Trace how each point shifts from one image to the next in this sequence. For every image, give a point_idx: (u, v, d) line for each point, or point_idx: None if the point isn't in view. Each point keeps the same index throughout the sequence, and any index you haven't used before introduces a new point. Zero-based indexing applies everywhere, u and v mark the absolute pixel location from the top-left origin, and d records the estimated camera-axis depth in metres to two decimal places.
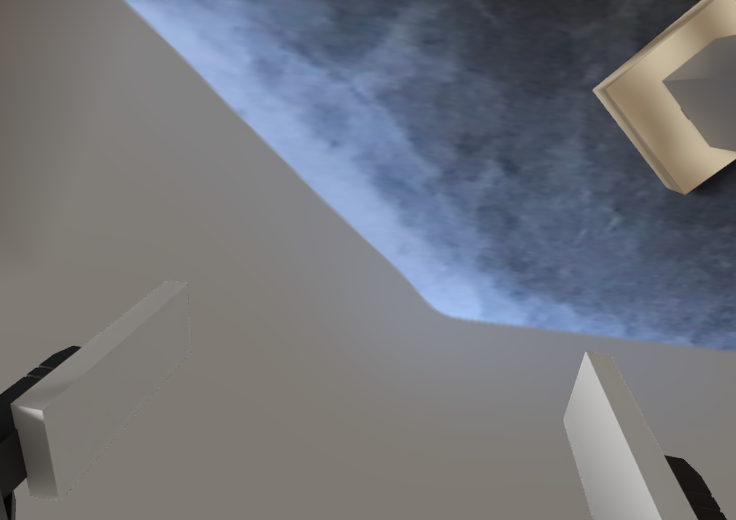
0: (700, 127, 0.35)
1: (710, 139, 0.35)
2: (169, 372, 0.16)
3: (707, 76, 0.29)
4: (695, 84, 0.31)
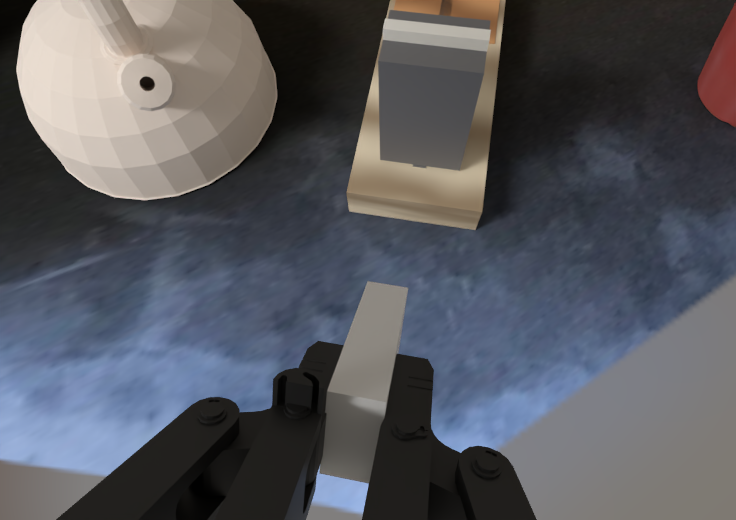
0: (435, 162, 0.37)
1: (450, 162, 0.37)
2: None
3: (379, 107, 0.33)
4: (385, 126, 0.34)
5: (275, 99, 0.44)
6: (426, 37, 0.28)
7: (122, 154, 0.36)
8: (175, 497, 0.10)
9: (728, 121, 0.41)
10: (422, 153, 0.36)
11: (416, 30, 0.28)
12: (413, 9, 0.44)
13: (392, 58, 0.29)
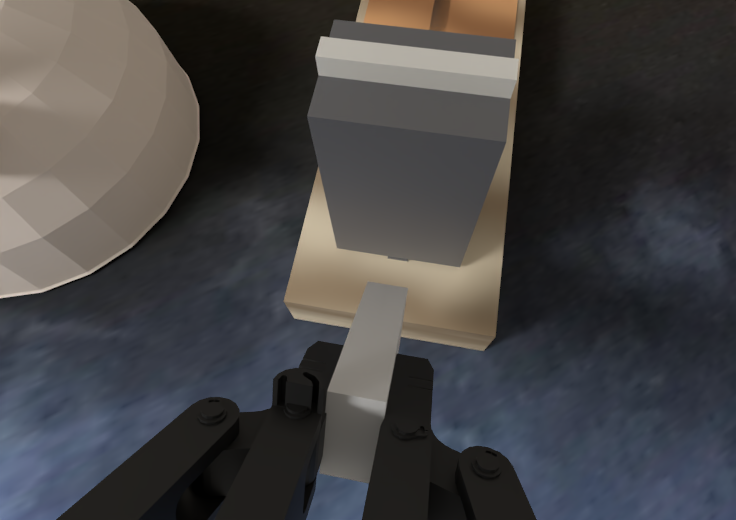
0: (422, 255, 0.23)
1: (445, 258, 0.23)
2: None
3: (323, 184, 0.19)
4: (337, 209, 0.21)
5: (196, 144, 0.31)
6: (396, 72, 0.15)
7: None
8: (175, 497, 0.10)
9: None
10: (400, 244, 0.23)
11: (378, 59, 0.15)
12: (393, 15, 0.31)
13: (334, 110, 0.15)
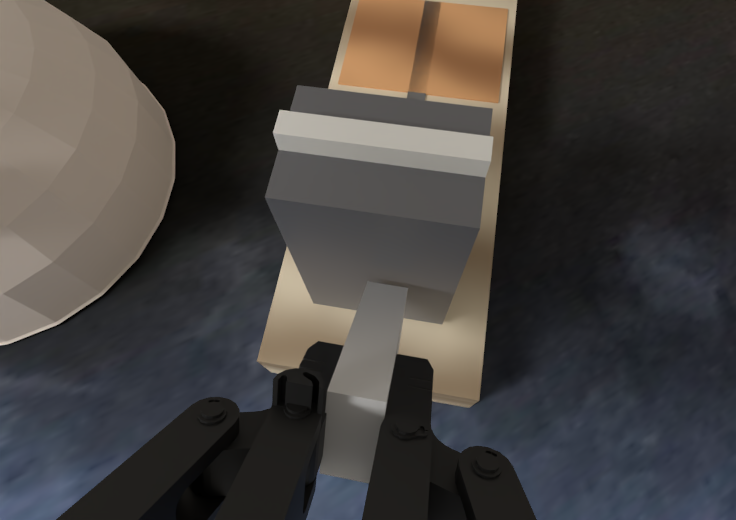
0: None
1: (426, 316, 0.22)
2: None
3: (292, 251, 0.18)
4: (308, 273, 0.19)
5: (171, 183, 0.30)
6: (361, 150, 0.14)
7: None
8: (175, 497, 0.10)
9: None
10: None
11: (341, 137, 0.14)
12: (375, 48, 0.29)
13: (294, 191, 0.14)
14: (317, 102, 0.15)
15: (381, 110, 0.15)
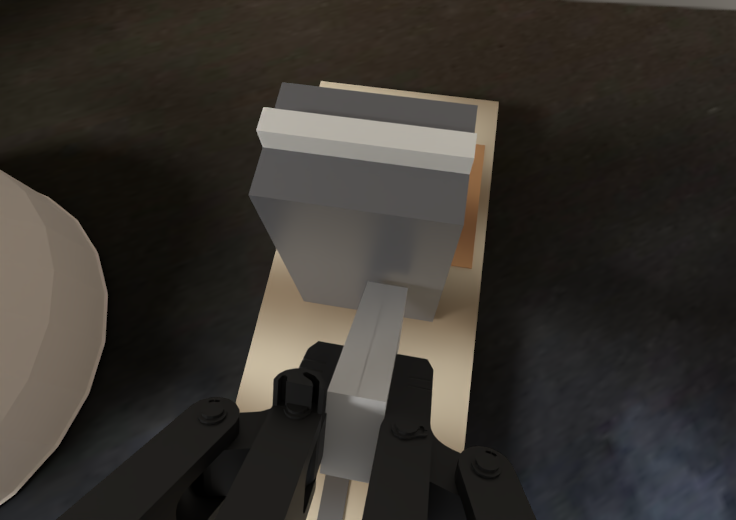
0: None
1: (416, 314, 0.22)
2: None
3: (279, 249, 0.18)
4: (297, 270, 0.19)
5: (100, 348, 0.26)
6: (345, 147, 0.14)
7: None
8: (175, 497, 0.10)
9: None
10: None
11: (324, 134, 0.14)
12: None
13: (278, 188, 0.14)
14: (302, 99, 0.15)
15: (366, 107, 0.15)
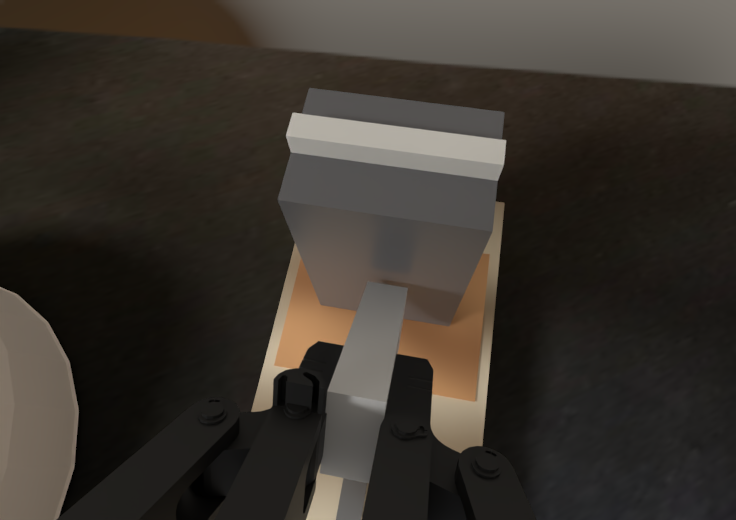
0: (409, 315, 0.22)
1: (433, 318, 0.22)
2: None
3: (301, 253, 0.18)
4: (317, 275, 0.19)
5: (68, 476, 0.24)
6: (374, 153, 0.14)
7: None
8: (175, 497, 0.10)
9: None
10: None
11: (354, 139, 0.14)
12: (324, 310, 0.24)
13: (307, 194, 0.14)
14: (329, 105, 0.15)
15: (393, 113, 0.15)
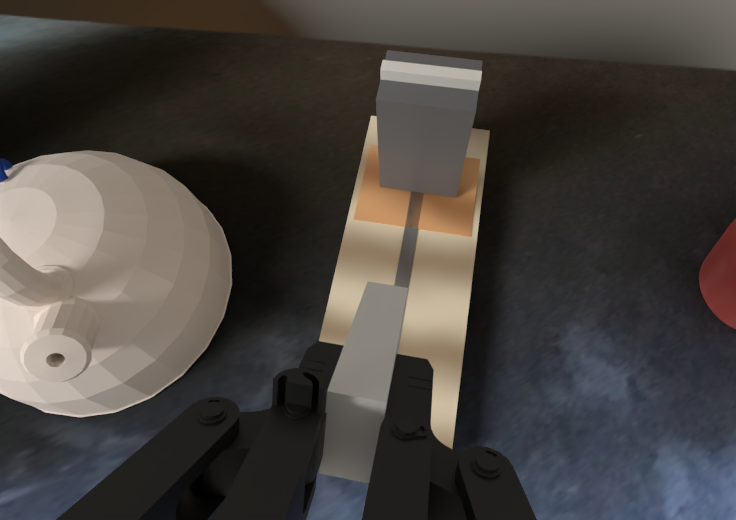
0: (432, 189, 0.38)
1: (446, 190, 0.38)
2: None
3: (378, 140, 0.34)
4: (384, 156, 0.36)
5: (229, 288, 0.40)
6: (421, 77, 0.30)
7: (44, 393, 0.32)
8: (175, 497, 0.10)
9: (734, 327, 0.37)
10: (419, 181, 0.38)
11: (412, 71, 0.30)
12: (381, 190, 0.40)
13: (389, 97, 0.30)
14: (397, 58, 0.32)
15: (429, 61, 0.31)
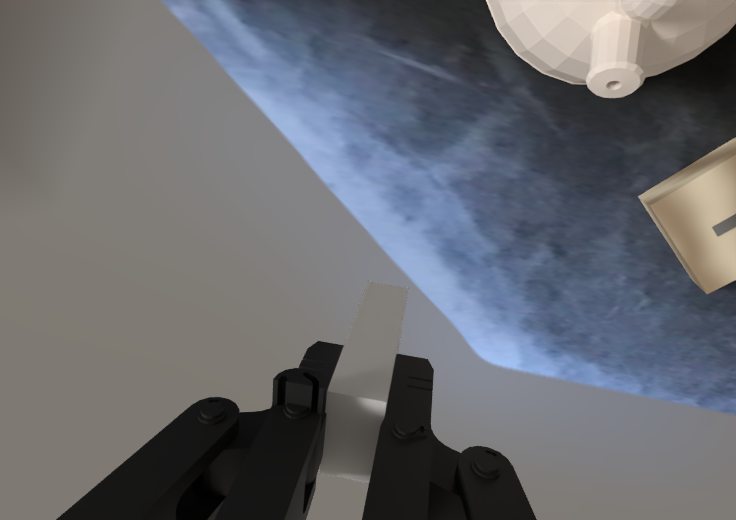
0: None
1: None
2: None
3: None
4: None
5: None
6: None
7: (538, 47, 0.37)
8: (175, 497, 0.10)
9: None
10: None
11: None
12: None
13: None
14: None
15: None
